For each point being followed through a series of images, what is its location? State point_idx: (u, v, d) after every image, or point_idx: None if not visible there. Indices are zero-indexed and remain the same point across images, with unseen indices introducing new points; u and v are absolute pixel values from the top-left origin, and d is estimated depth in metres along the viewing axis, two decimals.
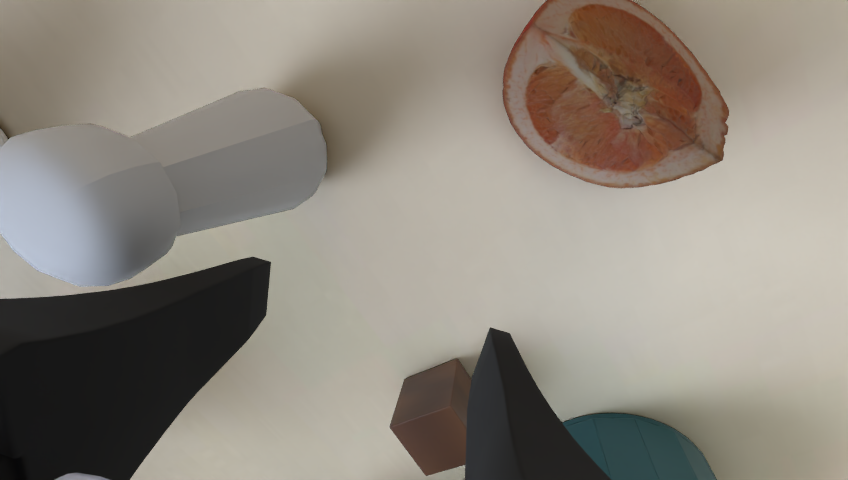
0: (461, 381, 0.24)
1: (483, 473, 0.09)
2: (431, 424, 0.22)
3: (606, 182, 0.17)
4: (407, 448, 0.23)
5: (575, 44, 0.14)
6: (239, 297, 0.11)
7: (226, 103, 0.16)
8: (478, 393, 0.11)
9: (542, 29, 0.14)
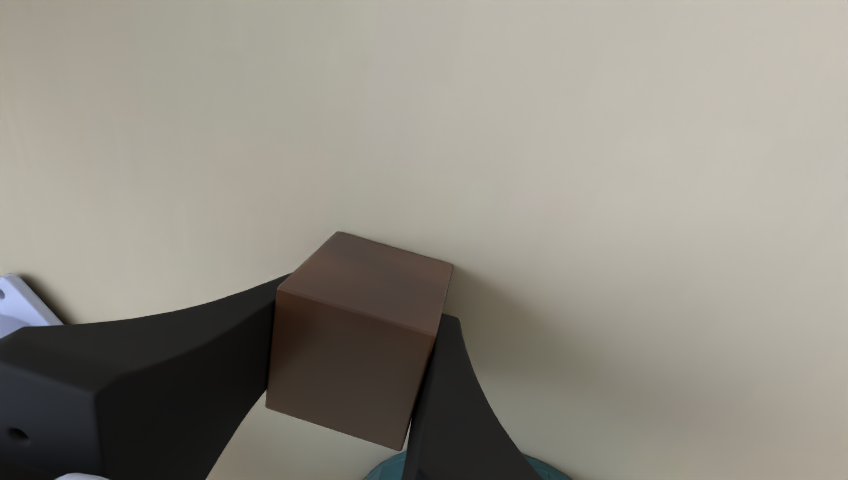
0: None
1: (411, 450, 0.09)
2: (365, 341, 0.10)
3: None
4: (275, 345, 0.10)
5: None
6: None
7: None
8: None
9: None
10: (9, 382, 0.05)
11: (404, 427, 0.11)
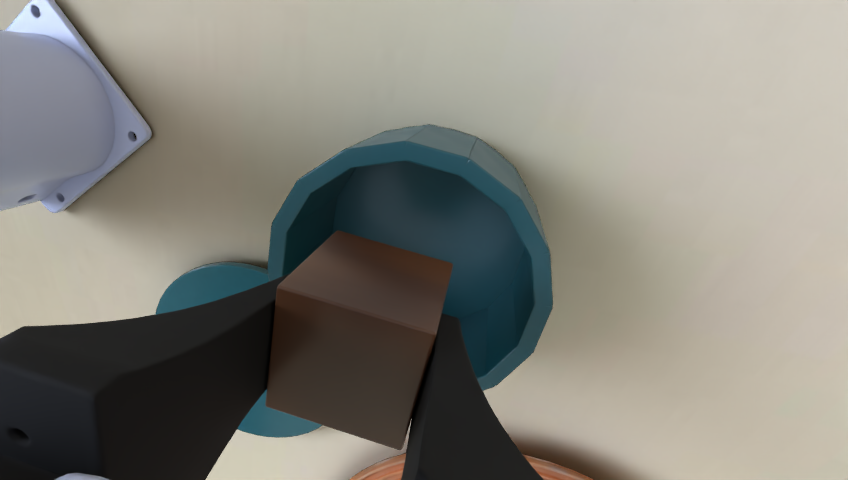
0: None
1: (411, 450, 0.09)
2: (364, 339, 0.10)
3: None
4: (275, 344, 0.10)
5: None
6: None
7: None
8: None
9: None
10: (9, 382, 0.05)
11: (404, 426, 0.11)
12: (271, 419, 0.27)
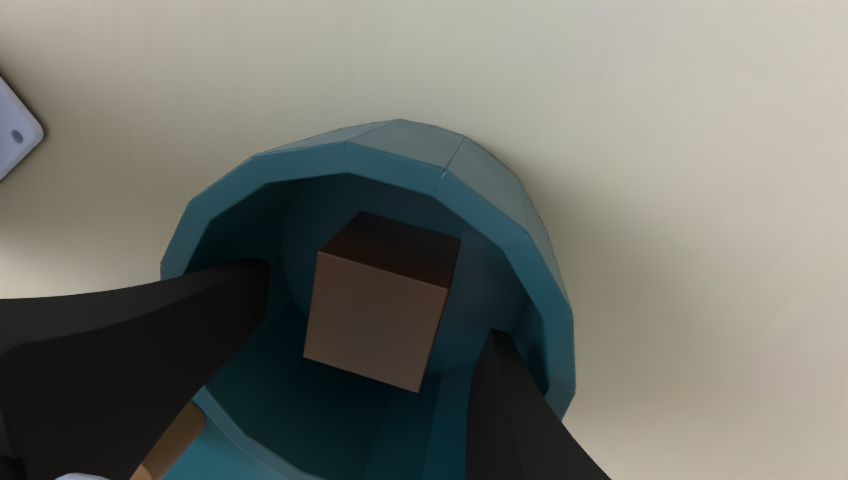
0: None
1: (483, 473, 0.09)
2: (390, 295, 0.12)
3: None
4: (314, 301, 0.12)
5: None
6: (239, 297, 0.11)
7: None
8: (478, 393, 0.11)
9: None
10: None
11: (421, 371, 0.13)
12: None
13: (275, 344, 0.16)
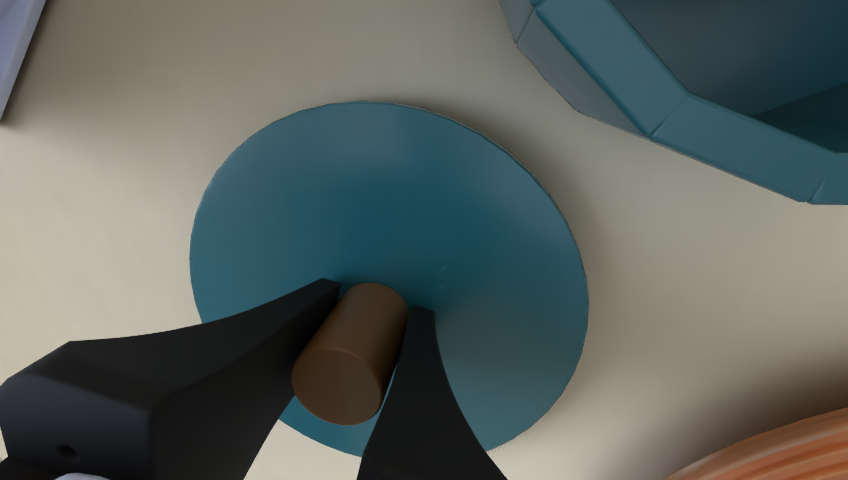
0: None
1: None
2: None
3: None
4: None
5: None
6: (317, 321, 0.11)
7: None
8: (396, 368, 0.11)
9: None
10: (62, 399, 0.05)
11: None
12: None
13: None
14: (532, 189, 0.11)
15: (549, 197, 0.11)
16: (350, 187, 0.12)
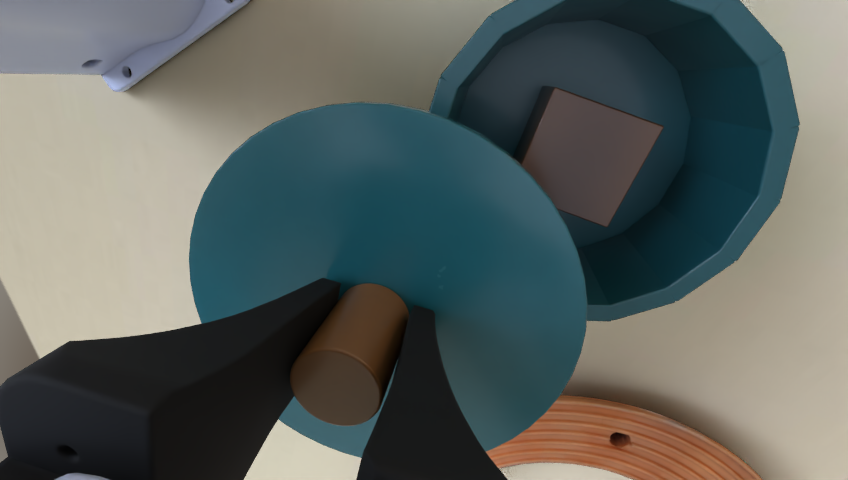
0: None
1: None
2: (609, 131, 0.14)
3: None
4: (537, 136, 0.15)
5: None
6: (317, 321, 0.11)
7: None
8: (396, 368, 0.11)
9: None
10: (62, 400, 0.05)
11: (617, 205, 0.15)
12: None
13: None
14: (531, 190, 0.11)
15: (548, 198, 0.11)
16: (349, 188, 0.12)
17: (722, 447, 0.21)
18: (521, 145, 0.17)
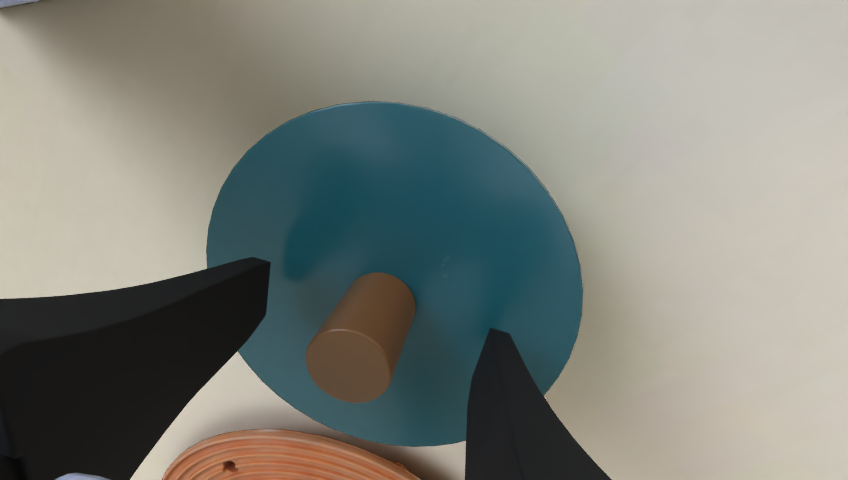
0: None
1: (483, 473, 0.09)
2: None
3: None
4: None
5: None
6: (239, 297, 0.11)
7: None
8: (478, 393, 0.11)
9: None
10: None
11: None
12: (440, 412, 0.15)
13: None
14: (530, 183, 0.11)
15: (545, 191, 0.11)
16: (360, 182, 0.12)
17: None
18: None
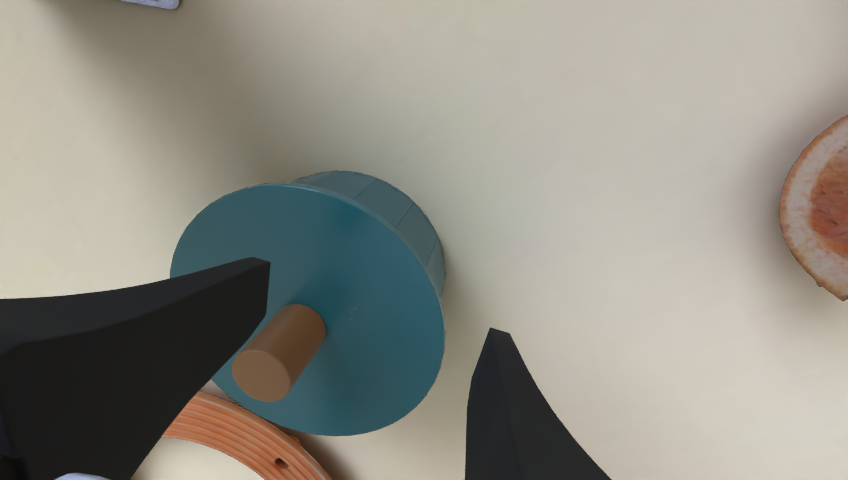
0: None
1: (483, 473, 0.09)
2: None
3: (787, 207, 0.17)
4: None
5: None
6: (239, 297, 0.11)
7: None
8: (478, 393, 0.11)
9: None
10: None
11: None
12: (329, 411, 0.20)
13: None
14: (420, 275, 0.16)
15: (430, 283, 0.16)
16: (303, 241, 0.17)
17: None
18: None
